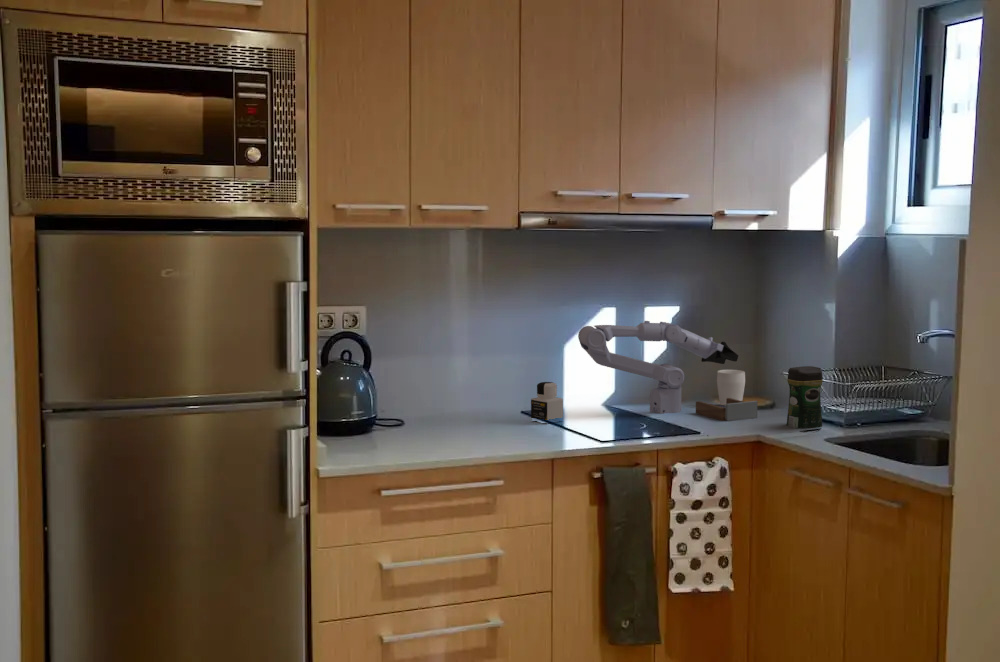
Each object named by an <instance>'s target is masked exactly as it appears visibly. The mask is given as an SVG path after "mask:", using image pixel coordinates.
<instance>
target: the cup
mask: <svg viewBox="0 0 1000 662" xmlns="http://www.w3.org/2000/svg"><path fill="white" fill-rule="evenodd" d="M716 373H717V374H716V384H717V391H718V392H717V393H718V401H719V405H720V406H724V407H726V401H727V398H732V399H736V400H740V401H743V398H744V393H745V385H746V371H744V370H740V369H739V370H738V369H719V370H717V372H716Z"/></svg>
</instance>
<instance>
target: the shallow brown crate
mask: <svg viewBox="0 0 1000 662" xmlns="http://www.w3.org/2000/svg"><path fill="white" fill-rule="evenodd" d="M740 402H745V400H744V401H743V400H742V401H740V400H736V399H732V398H727V401H726V404H730V403H740ZM725 411H726V407H725V406H724V407H723V406H721V405H720V406H718V405H716V404H715V405H714V404H711V403H709V402H704V401H698V400H697V401H695V414H697V415H699V416H704V417H707V418H711V419H715V420H719V421H724V422H726V421H725Z"/></svg>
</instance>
